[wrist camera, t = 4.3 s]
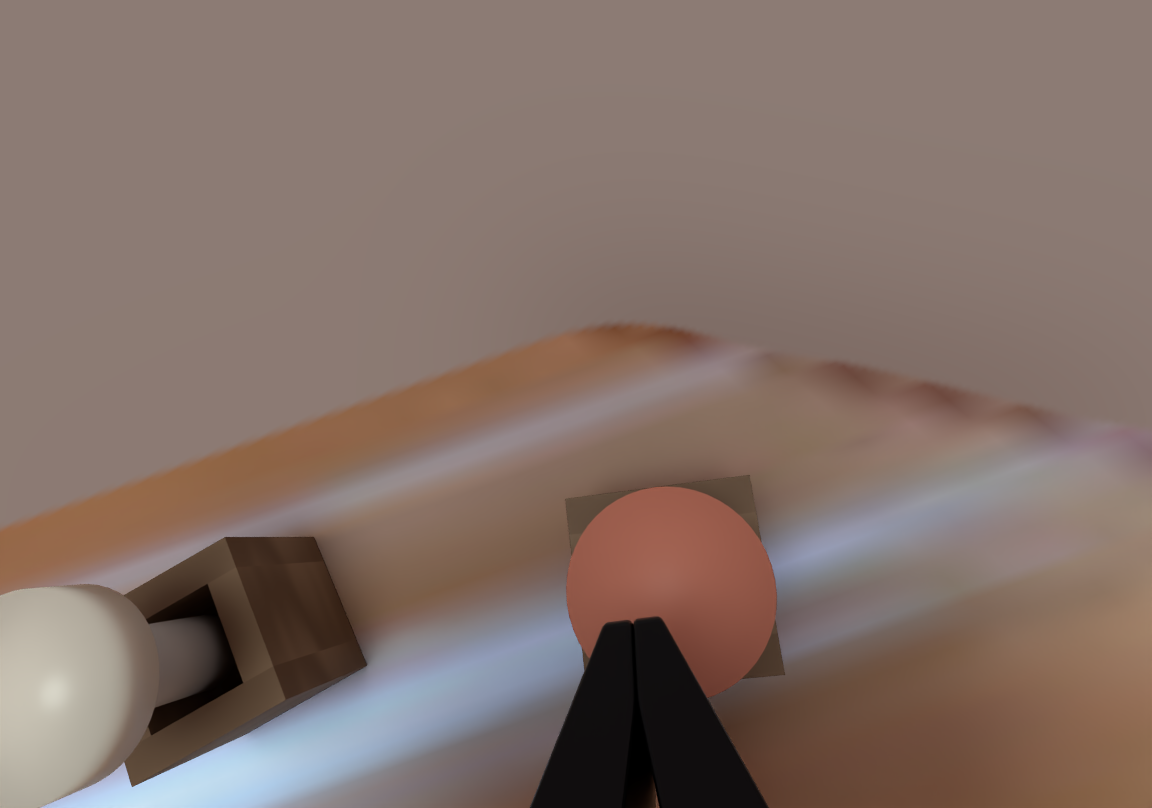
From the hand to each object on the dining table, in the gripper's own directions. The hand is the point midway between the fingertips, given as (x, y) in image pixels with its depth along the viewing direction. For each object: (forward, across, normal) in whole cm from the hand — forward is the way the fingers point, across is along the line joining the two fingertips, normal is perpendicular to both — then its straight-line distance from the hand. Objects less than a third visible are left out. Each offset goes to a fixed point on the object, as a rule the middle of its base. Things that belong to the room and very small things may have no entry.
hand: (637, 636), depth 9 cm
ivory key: (+5, +13, +5) cm, 14 cm away
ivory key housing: (+8, +12, +8) cm, 16 cm away
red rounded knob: (+7, 0, +6) cm, 9 cm away
